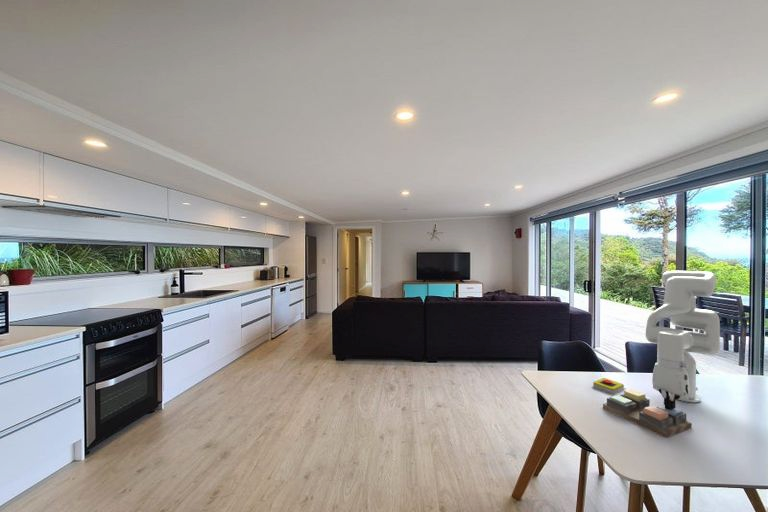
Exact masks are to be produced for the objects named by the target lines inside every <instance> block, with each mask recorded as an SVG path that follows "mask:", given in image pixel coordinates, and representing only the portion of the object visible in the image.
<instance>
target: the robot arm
mask: <svg viewBox="0 0 768 512" xmlns="http://www.w3.org/2000/svg"><path fill="white" fill-rule="evenodd" d="M662 282H663V284H664V286H665V288H664V296H663V304H662V306H659V307H658V308H656V309H655V310H654V311H652V312H651V313H650V314H649V316H648V318H647V321H646V325H645V326H646V328H645V338H646V341H648V342H649V343H652V344H655V345H657V347H656V348H657V349H656V351H657V352H656V353H657V355H656V358H657V359H656V362H655V364H654V367H653V370H652V377H651V381H652V389H654V390H656V391H657V392H659V394H660V395H661V396H662V398H663V405H665V408H666V409H668V410H673V409H674V408H675V409H676V406H677V405H676V403H677V402H676V401H677V400H679V401H682V402H686V403H693V404H695V403H700V402H701V397H700V396H698V395H697V392H696V391H699V388H698V386H697V361H696V359H695V358H694V357H693V356H692V355H691V354H690V353H693V354H699V355H705V356H713V357H714V356H717V355H719V352H720V347H721V345H720V344H721V339H720V337H721V326H720V325H721V324H720V323H721V322H720V317H719V315H718V313H717V312H716V311H713V310H710V309H702V308H697V306H696V305H697V304H696V303H697V301H696V300H697V299H696V297H700V298H701V297H702V298H710V297H712V295H713V294H714V292H715V288H716V287H717V277H716V275H715V274H714V273H712V272H710V271H695V270H694V271H692V270H690V271H689V270H668V271H665V272H664V273H663V274H662ZM667 318H670V322H671V324H672V325H673V326H674V327H675V326H676V327H679V329H678V328H672V327H664V326H657V323H658V322H659V321H661V320H663V319H667ZM680 328H685V329H692V330H698V331H699V330H700V331H703V332H704V333H703V332H696V331H690V330H685V329H684V330H683V329H680Z"/></svg>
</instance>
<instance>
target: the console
mask: <svg viewBox="0 0 768 512" xmlns="http://www.w3.org/2000/svg"><path fill="white" fill-rule="evenodd" d="M619 396H622V397H624V398H627V399H629V400H632V403H631V404H628V405H623V404H620V403H618V402H616V401H613V400H611V397H612V396H611V397H606V402H605V403H602V409H604V410H606V411H608V412H610V413H612V414H614V415H617V416H619V417H621V418H623V419H625V420H627V421H629V422H631V423H634V424H636V425H638V426H640V427H643V428H644V429H647V430H648V429H649V431H650V432H652V433H653V432H654V433H655V434H657V435H660V436H662V437H664V438H668V437H672V436H674V435H677V434H679V433H683V432H685V431H687V430H689V429H692V425H693V424H692V422H690V421H687V413H686V412H683V411H682V414H680V415H677V416H673V415H671V414H668V419H665V420H662V421H660V420H658V419H656V418H653V417H651V416H649V415H646V414H644V408H645V407H649V406H651V405H650V404H651V403H650V402H651V401H650V399H649V398H646V397H645V400H642V401H636V400H634V399H631V398H629V397H626V396H624V393H622V394H620V395H619ZM662 405H663V404H662ZM662 405H659V406H662ZM659 406H656V407H657V408H658V407H659Z"/></svg>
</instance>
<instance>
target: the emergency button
mask: <svg viewBox="0 0 768 512" xmlns="http://www.w3.org/2000/svg"><path fill="white" fill-rule="evenodd" d="M592 385H593V386H592V387H591V388H592V389H593V390H594V391H598V392H600V393H604V394H607V395H610V396H615V395H616V394H619V393H621V392H623V391H626V390H627V388H625V385H624V383H621V382H618V381H615V380H612V379H609V378H606V377H605V378H600V379H598V380H595V381H593V384H592Z"/></svg>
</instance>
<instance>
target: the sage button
mask: <svg viewBox="0 0 768 512" xmlns="http://www.w3.org/2000/svg"><path fill="white" fill-rule="evenodd" d="M611 400H613V401H616V402H618V403H620V404H623V405H628V404H631V403H632V400H629V399H627V398H624V397H622V396H620V395H619V394H618V395H613V396H611Z"/></svg>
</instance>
